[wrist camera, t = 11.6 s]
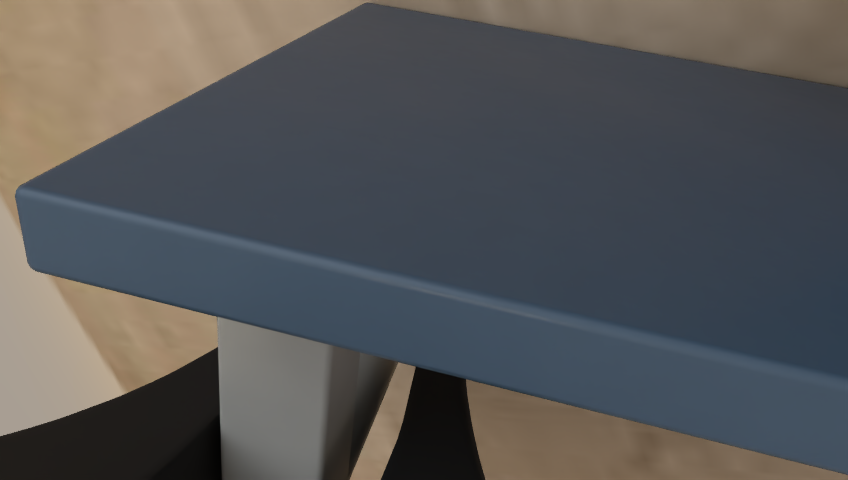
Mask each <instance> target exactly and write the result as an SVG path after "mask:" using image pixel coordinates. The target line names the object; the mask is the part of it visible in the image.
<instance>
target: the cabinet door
mask: <svg viewBox="0 0 848 480" xmlns="http://www.w3.org/2000/svg"><path fill="white" fill-rule="evenodd" d="M15 198H16V203H17V209H18V214H19V219H20V225H21V230H22V235H23V241H24V246H25V251H26V256H27V262H28V264H29V266H30V267H31V268H32V269H33V270H35V271H37V272H41V273H45V274H49V275H53V276H57V277H61V278H65V279H69V280H73V281H77V282H81V283H85V284H89V285H93V286H97V287H101V288H105V289H109V290H113V291H117V292H121V293H125V294H129V295H133V296H137V297H141V298H145V299H149V300H153V301H157V302H161V303H165V304H169V305H173V306H177V307H181V308H185V309H189V310H193V311H196V312H200V313H204V314H208V315H212V316H216V317H217V325H218V360H219V395H220V430H221V465H222V480H349V479H350V477H351V474H352V472H353V470H354V467H355V465H356V462H357V460H358V458H359V455H360V453H361V450H362V448H363V446H364V443H365V441H366V438H367V436H368V434H369V431H370V429H371V426H372V424H373V422H374V419H375V417H376V414H377V412H378V410H379V407H380V405H381V402H382V400H383V398H384V395H385V393H386V390H387V388H388V386H389V383H390V381H391V378H392V376H393V374H394V371H395V369H396V366H397V364H398V362H400V363H404V364H408V365H412V366H416V367H420V368H424V369H428V370H432V371H436V372H440V373H444V374H448V375H452V376H456V377H460V378H464V379H468V380H472V381H476V382H480V383H484V384H488V385H491V386H495V387H499V388H503V389H507V390H511V391H515V392H519V393H523V394H527V395H531V396H535V397H539V398H543V399H547V400H551V401H555V402H559V403H563V404H567V405H571V406H575V407H579V408H583V409H587V410H591V411H595V412H599V413H603V414H607V415H611V416H615V417H619V418H623V419H627V420H631V421H635V422H639V423H643V424H647V425H651V426H655V427H659V428H663V429H667V430H671V431H675V432H679V433H683V434H687V435H691V436H695V437H699V438H703V439H707V440H711V441H715V442H719V443H723V444H727V445H731V446H735V447H739V448H743V449H747V450H751V451H755V452H759V453H763V454H767V455H771V456H775V457H779V458H782V459H786V460H790V461H794V462H798V463H802V464H806V465H810V466H814V467H818V468H822V469H826V470H830V471H834V472H838V473H842V474H846V475H848V88H843V87H837V86H832V85H826V84H820V83H815V82H809V81H804V80H798V79H792V78H787V77H781V76H776V75H770V74H764V73H759V72H753V71H747V70H742V69H736V68H731V67H725V66H719V65H714V64H708V63H703V62H697V61H691V60H686V59H680V58H675V57H669V56H663V55H658V54H652V53H647V52H641V51H635V50H630V49H624V48H619V47H613V46H607V45H602V44H596V43H591V42H585V41H579V40H574V39H568V38H563V37H557V36H551V35H546V34H540V33H535V32H529V31H523V30H518V29H512V28H506V27H501V26H495V25H490V24H484V23H478V22H473V21H467V20H462V19H456V18H450V17H445V16H439V15H434V14H428V13H422V12H417V11H411V10H406V9H400V8H394V7H389V6H383V5H378V4H372V3H364V4H362V5H360V6H358V7H357V8H355V9H353V10H351V11H349V12H347V13H345V14H343V15H341V16H340V17H338V18H336V19H334V20H332V21H330V22H328V23H326V24H324V25H323V26H321V27H319V28H317V29H315V30H313V31H311V32H309V33H307V34H306V35H304V36H302V37H300V38H298V39H296V40H294V41H292V42H290V43H289V44H287V45H285V46H283V47H281V48H279V49H277V50H275V51H273V52H272V53H270V54H268V55H266V56H264V57H262V58H260V59H258V60H256V61H254V62H253V63H251V64H249V65H247V66H245V67H243V68H241V69H239V70H237V71H236V72H234V73H232V74H230V75H228V76H226V77H224V78H222V79H220V80H219V81H217V82H215V83H213V84H211V85H209V86H207V87H205V88H203V89H202V90H200V91H198V92H196V93H194V94H192V95H190V96H188V97H186V98H185V99H183V100H181V101H179V102H177V103H175V104H173V105H171V106H169V107H168V108H166V109H164V110H162V111H160V112H158V113H156V114H154V115H152V116H150V117H149V118H147V119H145V120H143V121H141V122H139V123H137V124H135V125H133V126H132V127H130V128H128V129H126V130H124V131H122V132H120V133H118V134H116V135H115V136H113V137H111V138H109V139H107V140H105V141H103V142H101V143H99V144H98V145H96V146H94V147H92V148H90V149H88V150H86V151H84V152H82V153H81V154H79V155H77V156H75V157H73V158H71V159H69V160H67V161H65V162H63V163H62V164H60V165H58V166H56V167H54V168H52V169H50V170H48V171H46V172H45V173H43V174H41V175H39V176H37V177H35V178H33V179H31V180H29V181H28V182H26V183H24V184H22V185H20V186H19V187H18V188H17V190H16V194H15Z"/></svg>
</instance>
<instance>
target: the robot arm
mask: <svg viewBox="0 0 848 480" xmlns="http://www.w3.org/2000/svg"><path fill="white" fill-rule="evenodd" d="M0 480H222V465H221V430H220V395H219V360H218V347H217V348H215V349H214V350H212V351H210V352H208V353H207V354H205V355H203V356H201V357H199V358H198V359H196V360H194V361H192V362H190V363H189V364H187V365H185V366H183V367H181V368H180V369H178V370H176V371H174V372H172V373H170V374H168V375H166V376H164V377H162V378H160V379H158V380H156V381H154V382H151V383H149V384H147V385H145V386H142V387H140V388H138V389H136V390H133V391H131V392H129V393H127V394H124V395H122V396H120V397H117V398H115V399H112V400H109V401H106V402H104V403H101V404H99V405H96V406H93V407H90V408H88V409H85V410H82V411H79V412H77V413H74V414H71V415H69V416H66V417H63V418H60V419H57V420H54V421H51V422H48V423H44V424H41V425H38V426H35V427H32V428H28V429H25V430H21V431H18V432H14V433H11V434H7V435H3V436H0ZM381 480H485V477H484V473H483V470H482V466H481V462H480V459H479V455H478V450H477V446H476V442H475V437H474V433H473V427H472V422H471V416H470V410H469V403H468V396H467V387H466V379H464V378H460V377H456V376H452V375H448V374H444V373H440V372H436V371H432V370H428V369H424V368H420V367H416V369H415V373H414V377H413V381H412V386H411V390H410V394H409V398H408V403H407V407H406V411H405V415H404V420H403V423H402V426H401V430H400V433H399V436H398V439H397V442H396V444H395V447H394V449H393V452H392V454H391V456H390V459H389V461H388V464H387V466H386V469H385V471H384V474H383V476H382V478H381Z"/></svg>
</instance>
